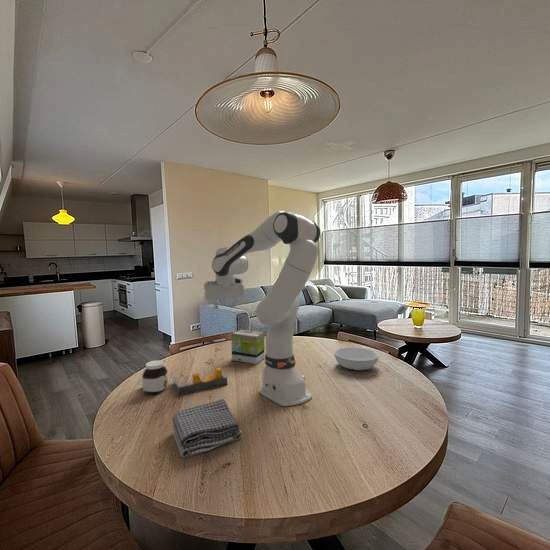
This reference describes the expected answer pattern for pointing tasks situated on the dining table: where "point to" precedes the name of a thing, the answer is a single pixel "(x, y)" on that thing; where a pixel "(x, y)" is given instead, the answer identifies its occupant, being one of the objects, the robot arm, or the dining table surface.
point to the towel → (204, 428)
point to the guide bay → (199, 385)
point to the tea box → (247, 346)
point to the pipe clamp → (212, 377)
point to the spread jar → (154, 377)
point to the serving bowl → (356, 358)
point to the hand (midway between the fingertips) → (225, 307)
